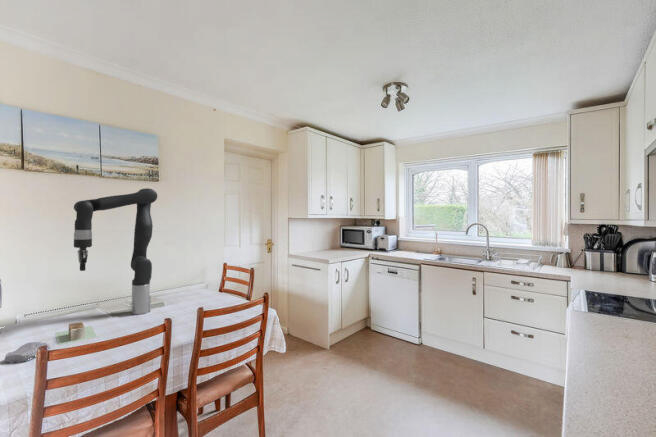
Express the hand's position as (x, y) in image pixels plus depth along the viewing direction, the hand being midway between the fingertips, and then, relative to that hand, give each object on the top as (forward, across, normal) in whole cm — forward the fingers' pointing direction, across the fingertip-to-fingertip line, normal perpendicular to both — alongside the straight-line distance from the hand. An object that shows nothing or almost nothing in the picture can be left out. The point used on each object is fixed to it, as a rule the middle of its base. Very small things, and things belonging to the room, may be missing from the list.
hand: (82, 270), depth 160 cm
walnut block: (+26, -14, +4) cm, 30 cm away
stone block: (+30, -29, +20) cm, 46 cm away
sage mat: (+29, -17, +4) cm, 34 cm away
